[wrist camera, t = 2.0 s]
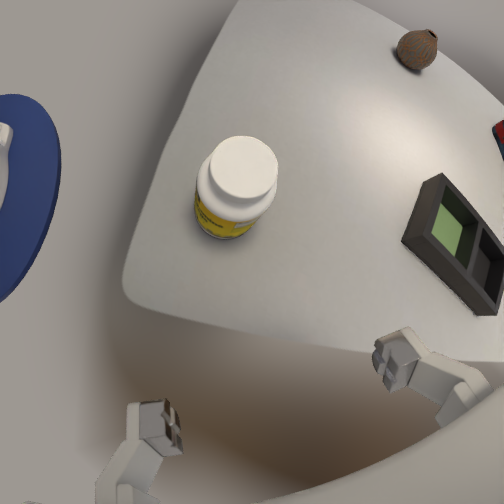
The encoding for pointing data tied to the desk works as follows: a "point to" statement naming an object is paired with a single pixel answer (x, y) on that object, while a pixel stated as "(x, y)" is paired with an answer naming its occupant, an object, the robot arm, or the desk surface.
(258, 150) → the pill bottle
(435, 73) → the desk surface
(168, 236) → the desk surface
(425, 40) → the vase
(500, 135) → the book
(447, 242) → the holder
